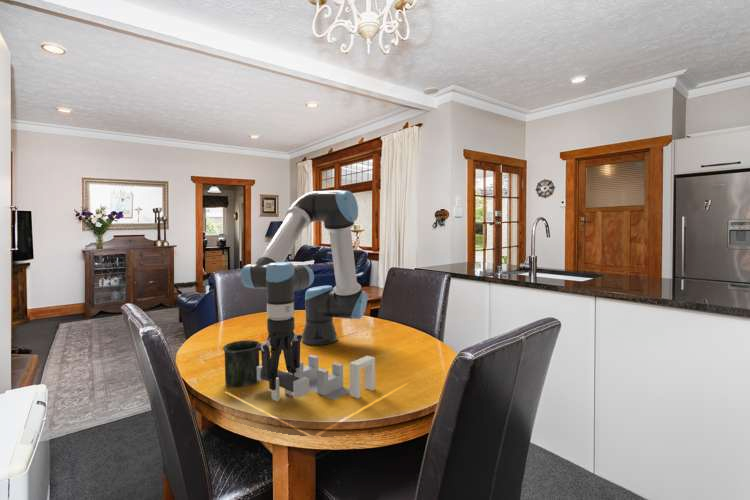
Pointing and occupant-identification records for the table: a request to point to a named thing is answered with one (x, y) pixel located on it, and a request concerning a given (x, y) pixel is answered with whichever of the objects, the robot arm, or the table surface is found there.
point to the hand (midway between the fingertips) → (282, 396)
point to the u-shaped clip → (356, 375)
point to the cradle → (323, 378)
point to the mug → (241, 363)
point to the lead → (288, 382)
